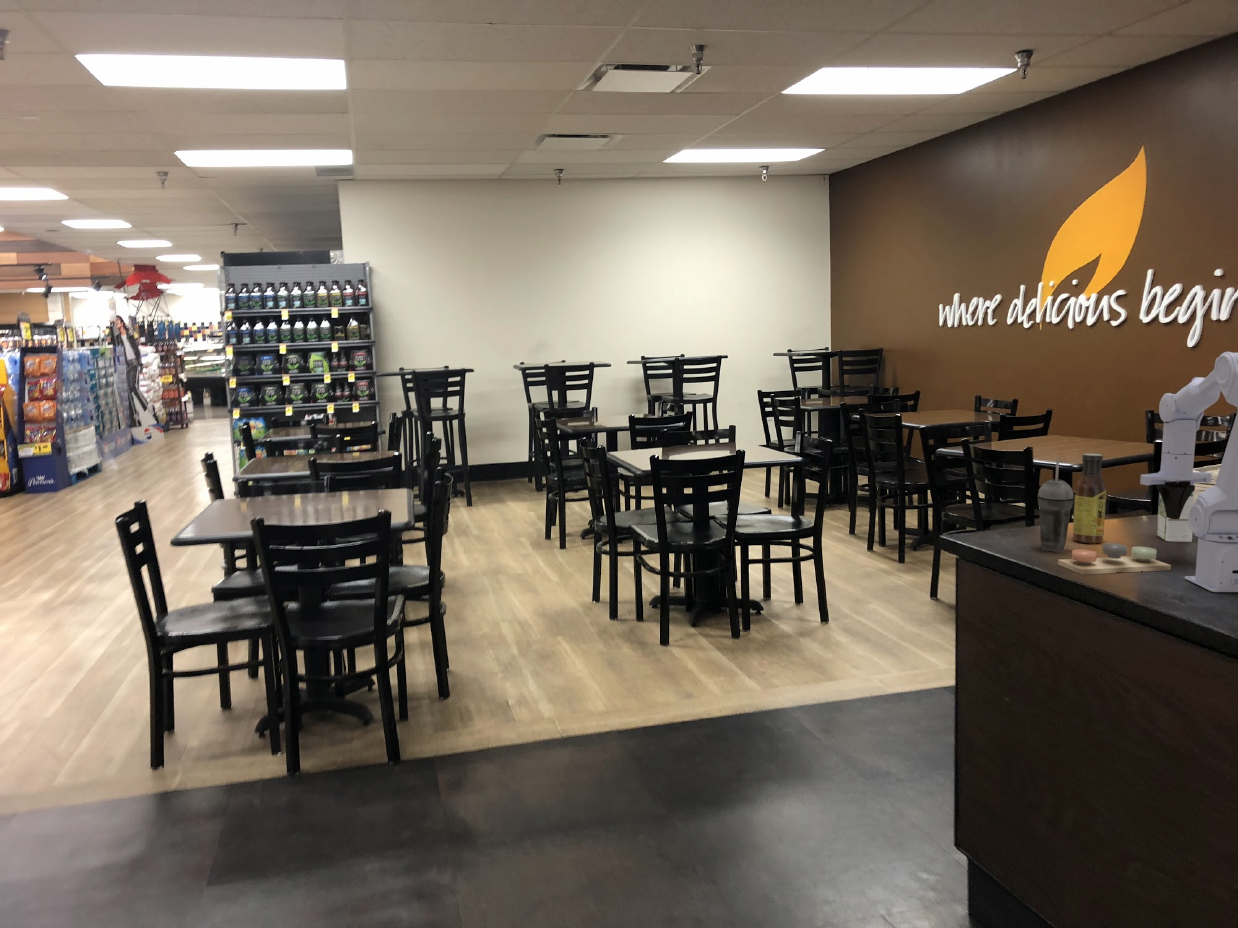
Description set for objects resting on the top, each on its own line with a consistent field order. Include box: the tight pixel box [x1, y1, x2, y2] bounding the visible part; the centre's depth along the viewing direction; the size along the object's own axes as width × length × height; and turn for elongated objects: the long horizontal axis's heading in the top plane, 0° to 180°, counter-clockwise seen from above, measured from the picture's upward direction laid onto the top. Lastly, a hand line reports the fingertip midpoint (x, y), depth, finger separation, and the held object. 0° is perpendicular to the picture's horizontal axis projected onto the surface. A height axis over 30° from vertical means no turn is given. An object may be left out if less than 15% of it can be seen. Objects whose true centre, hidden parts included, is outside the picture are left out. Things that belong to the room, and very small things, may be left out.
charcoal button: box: [1101, 542, 1128, 559], centre depth 188 cm, size 4×4×2 cm
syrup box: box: [1156, 480, 1196, 543], centre depth 211 cm, size 6×6×14 cm
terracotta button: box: [1071, 548, 1098, 565], centre depth 187 cm, size 4×4×2 cm
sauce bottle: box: [1072, 453, 1107, 544], centre depth 210 cm, size 7×6×20 cm
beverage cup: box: [1037, 458, 1075, 553], centre depth 202 cm, size 7×7×20 cm
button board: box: [1057, 555, 1172, 576], centre depth 189 cm, size 19×8×1 cm, turn 97°
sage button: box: [1130, 546, 1158, 562], centre depth 189 cm, size 4×4×2 cm
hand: (1172, 518), depth 192 cm, fingers closed
